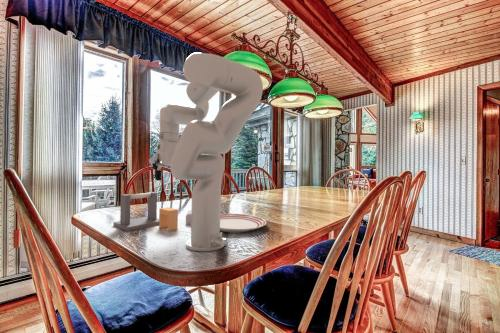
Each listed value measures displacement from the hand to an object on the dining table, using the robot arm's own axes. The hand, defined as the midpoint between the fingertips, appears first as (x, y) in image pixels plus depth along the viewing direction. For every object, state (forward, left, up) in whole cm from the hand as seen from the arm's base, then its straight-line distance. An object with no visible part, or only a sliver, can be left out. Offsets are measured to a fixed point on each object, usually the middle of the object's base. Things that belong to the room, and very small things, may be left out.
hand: (168, 179), depth 103 cm
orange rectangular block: (0, 0, -20) cm, 20 cm away
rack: (+14, +5, -20) cm, 25 cm away
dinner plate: (-18, -21, -21) cm, 34 cm away
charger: (+3, -18, -21) cm, 27 cm away
